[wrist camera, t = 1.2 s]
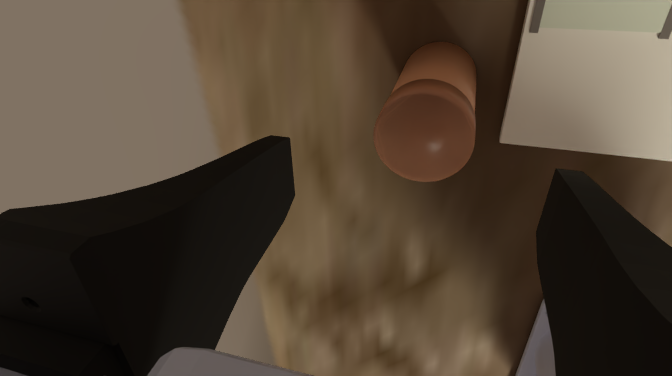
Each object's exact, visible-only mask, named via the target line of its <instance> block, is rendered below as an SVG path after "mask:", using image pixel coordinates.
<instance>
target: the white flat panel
mask: <svg viewBox="0 0 672 376" xmlns="http://www.w3.org/2000/svg"><path fill="white" fill-rule="evenodd" d="M499 141H500V143H506V144H515V145H524V146H534V147H543V148H552V149H562V150H571V151H580V152H590V153H599V154H609V155H618V156H627V157H637V158H646V159H655V160H665V161H672V0H528V5H527V9H526V14H525V19H524V23H523V28H522V33H521V37H520V42H519V47H518V51H517V56H516V61H515V66H514V70H513V75H512V80H511V84H510V89H509V94H508V98H507V103H506V108H505V112H504V117H503V122H502V126H501V131H500V136H499Z"/></svg>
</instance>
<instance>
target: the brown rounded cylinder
mask: <svg viewBox="0 0 672 376" xmlns="http://www.w3.org/2000/svg"><path fill="white" fill-rule="evenodd" d="M476 81H477V72H476V67H475V64H474V62H473V60H472V58H471V57H470V55H469V54H468V53H467V52H466V51H465V50H464V49H463V48H461V47H459V46H458V45H455V44H453V43H449V42H432V43H429V44H426V45H424V46H422V47H420V48H419V49H417V50H416V51H415V52H414V53H413V54H412V55H411V56H410V57H409V59H408V60H407V62H406V64H405V66H404V68H403V70H402V72H401V74H400V76H399V78H398V81H397V83H396V85H395V87H394V89H393V91H392V93H391V95H390V96H389V98H388V99H387V101H386V102H385V104H384V106H383V108H382V110H381V112H380V114H379V116H378V118H377V121H376V124H375V127H374V143H375V147H376V150H377V153H378V155H379V157H380V158H381V160H382V161H383V162H384V163H385V165H386V166H387V167H388V168H390V169H391V170H392V171H393V172H395V173H396V174H398V175H400V176H402V177H404V178H407V179H410V180H414V181H420V182H432V181H438V180H442V179H445V178H447V177H450V176H451V175H453V174H455V173H456V172H458V171H459V170H460V169H461V168H462V167H463V166H464V165H465V164H466V163H467V162H468V160H469V158H470V157H471V154H472V152H473V149H474V144H475V129H476V118H475V99H476Z"/></svg>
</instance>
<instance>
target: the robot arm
mask: <svg viewBox="0 0 672 376" xmlns="http://www.w3.org/2000/svg"><path fill="white" fill-rule="evenodd" d="M294 197H295V188H294V177H293V167H292V156H291V145H290V138H289V137H280V136H272V135H270V136H267V137H264V138H262V139H259V140H257V141H255V142H252V143H250V144H248V145H246V146H244V147H242V148H240V149H238V150H235V151H233V152H231V153H229V154H227V155H225V156H223V157H221V158H218V159H216V160H214V161H212V162H209V163H207V164H204V165H202V166H200V167H197V168H195V169H193V170H190V171H188V172H185V173H183V174H180V175H178V176H175V177H172V178H169V179H166V180H163V181H160V182H157V183H154V184H150V185H147V186H143V187H139V188H136V189H132V190H128V191H124V192H120V193H116V194H112V195H107V196H103V197H98V198H92V199H86V200H81V201H75V202H68V203H61V204H54V205H44V206H35V207H27V208H18V209H17V208H16V209H9V210H7V211H5V212H3V213H1V214H0V376H313V375H309V374H305V373H301V372H297V371H294V370H290V369H286V368H282V367H278V366H274V365H270V364H266V363H262V362H258V361H255V360H250V359H247V358H243V357H239V356H235V355H231V354H227V353H223V352H220V351H216V350H215V348H216V346H217V343H218V341H219V339H220V337H221V334H222V332H223V330H224V328H225V325H226V323H227V321H228V318H229V316H230V314H231V312H232V310H233V308H234V306H235V304H236V302H237V300H238V297H239V295H240V293H241V291H242V289H243V287H244V285H245V284H246V282H247V280H248V278H249V277H250V275H251V273H252V272H253V270H254V269H255V267H256V265H257V264H258V262H259V261H260V259H261V257H262V256H263V254H264V253H265V251H266V250H267V248H268V246H269V245H270V243H271V242H272V240H273V238H274V237H275V235H276V234H277V232H278V230H279V229H280V227H281V225H282V224H283V222H284V220H285V218H286V216H287V213H288V211H289V209H290V206H291V204H292V201H293V199H294ZM536 239H537V264H538V270H539V275H540V280H541V286H542V291H543V296H544V299H543V301H542V303H541V306H540V309H539V312H538V314H537V317H536V320H535V323H534V325H533V328H532V331H531V334H530V336H529V339H528V342H527V345H526V347H525V350H524V353H523V356H522V358H521V361H520V364H519V367H518V369H517V372H516V375H515V376H672V247H671V246H669V245H668V244H667V243H665V242H664V241H663V240H661V239H660V238H659V237H658V236H656V235H655V234H654V233H652V232H651V231H650V230H649V229H647V228H646V227H645V226H644V225H643V224H641V223H640V222H639V221H638V220H637V219H635V218H634V217H633V216H632V215H631V214H630V213H629V212H627V211H626V210H625V209H624V208H623V207H622V206H621V205H619V204H618V203H617V202H616V201H615V200H614V199H613V198H612V197H611V196H610V195H609V194H607V193H606V192H605V191H604V190H603V189H602V188H601V187H600V186H599V185H598V184H597V183H595V182H594V181H593V180H592V179H591V178H590V177H589V176H587V175H586V174H585V173H584V172H581V171H573V170H564V169H556V170H555V173H554V176H553V179H552V182H551V186H550V189H549V192H548V195H547V199H546V202H545V205H544V208H543V211H542V215H541V218H540V221H539V224H538V227H537V231H536Z"/></svg>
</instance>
